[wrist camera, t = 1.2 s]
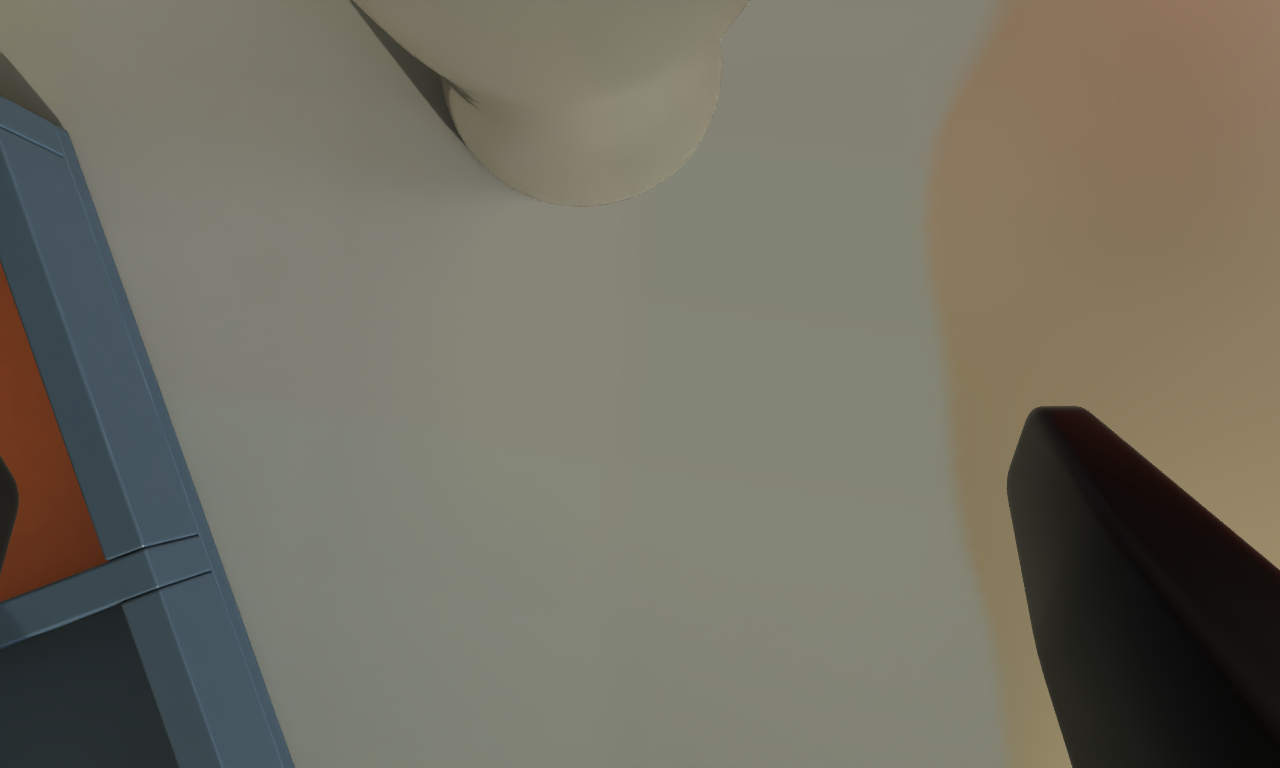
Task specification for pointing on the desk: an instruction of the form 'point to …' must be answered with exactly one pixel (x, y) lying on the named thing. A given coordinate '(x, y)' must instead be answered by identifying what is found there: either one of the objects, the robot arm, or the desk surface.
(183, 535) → the divided tray
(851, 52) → the desk surface
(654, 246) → the desk surface
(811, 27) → the desk surface
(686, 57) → the beer glass
